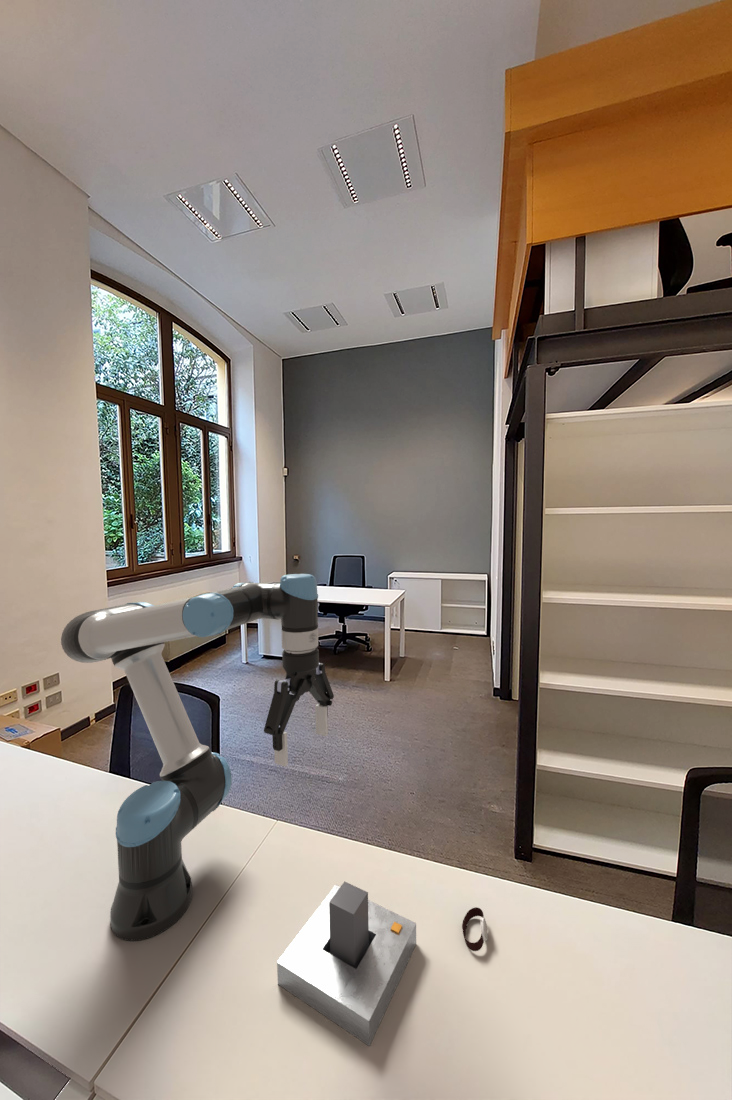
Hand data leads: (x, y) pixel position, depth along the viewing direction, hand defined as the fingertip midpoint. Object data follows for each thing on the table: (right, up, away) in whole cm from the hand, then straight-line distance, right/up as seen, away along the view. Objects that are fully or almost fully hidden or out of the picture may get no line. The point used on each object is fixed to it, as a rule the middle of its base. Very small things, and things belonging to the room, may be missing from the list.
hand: (302, 748), depth 89 cm
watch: (+34, -32, -8) cm, 48 cm away
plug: (+10, -32, -13) cm, 36 cm away
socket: (+10, -32, -13) cm, 36 cm away
